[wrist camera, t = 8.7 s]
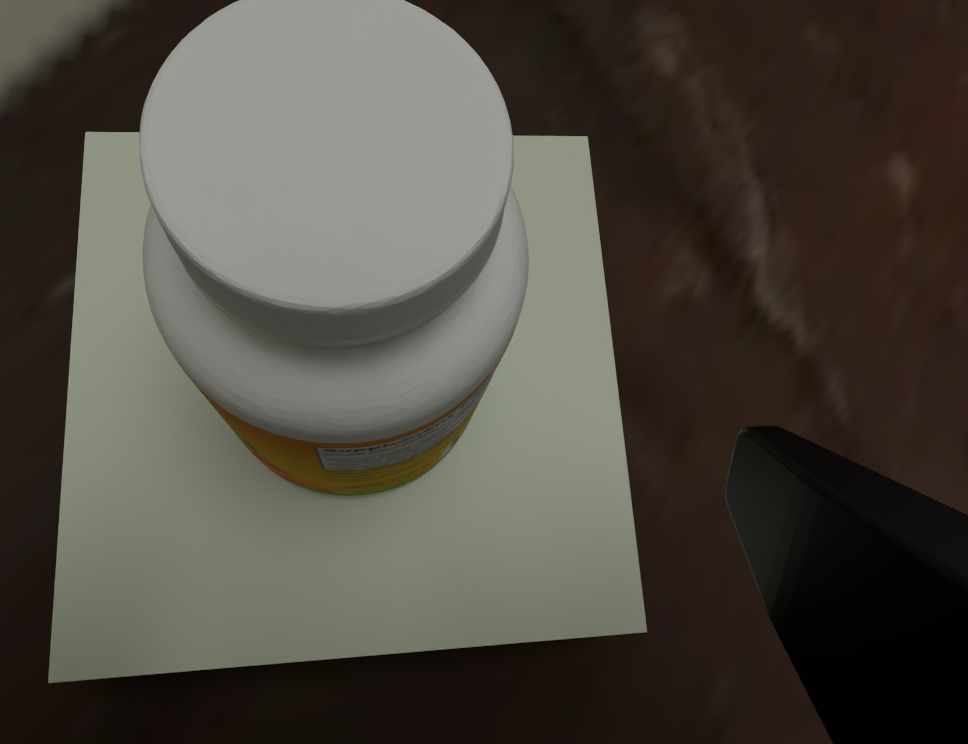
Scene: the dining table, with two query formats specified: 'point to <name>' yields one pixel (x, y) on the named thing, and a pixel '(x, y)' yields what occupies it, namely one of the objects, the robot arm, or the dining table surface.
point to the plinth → (327, 519)
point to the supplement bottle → (333, 233)
